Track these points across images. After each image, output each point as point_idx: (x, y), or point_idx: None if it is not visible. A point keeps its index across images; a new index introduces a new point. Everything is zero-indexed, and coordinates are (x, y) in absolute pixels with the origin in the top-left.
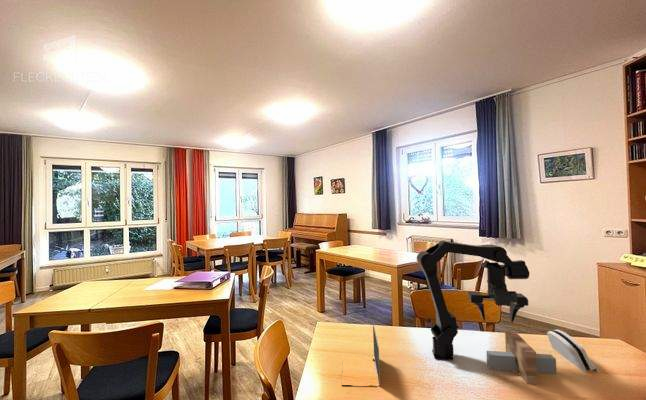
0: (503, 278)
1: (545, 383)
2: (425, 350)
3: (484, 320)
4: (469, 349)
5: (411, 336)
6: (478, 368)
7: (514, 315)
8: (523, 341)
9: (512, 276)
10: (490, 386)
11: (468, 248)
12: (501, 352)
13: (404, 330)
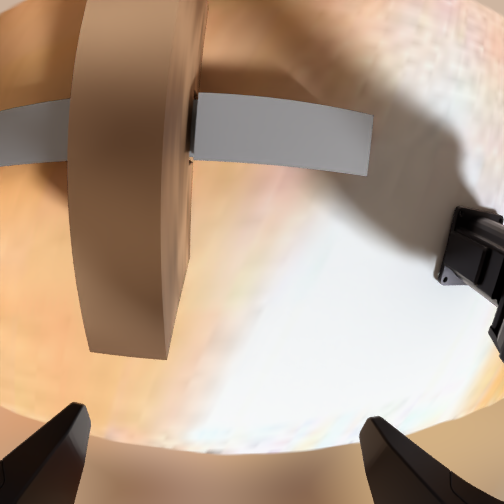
0: None
1: None
2: None
3: (374, 418)
4: (345, 316)
5: (479, 368)
6: (385, 134)
7: (20, 457)
8: (88, 88)
9: None
10: (383, 3)
11: None
12: (274, 149)
13: (472, 398)
